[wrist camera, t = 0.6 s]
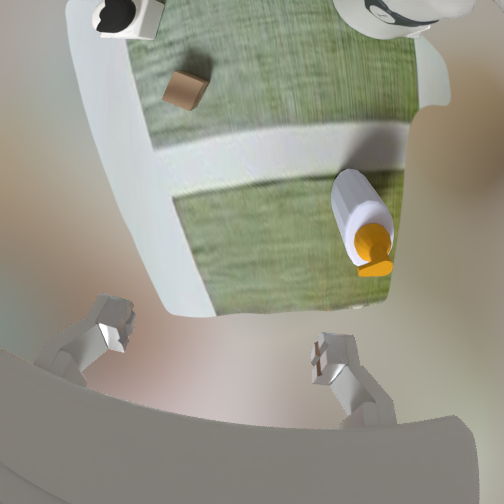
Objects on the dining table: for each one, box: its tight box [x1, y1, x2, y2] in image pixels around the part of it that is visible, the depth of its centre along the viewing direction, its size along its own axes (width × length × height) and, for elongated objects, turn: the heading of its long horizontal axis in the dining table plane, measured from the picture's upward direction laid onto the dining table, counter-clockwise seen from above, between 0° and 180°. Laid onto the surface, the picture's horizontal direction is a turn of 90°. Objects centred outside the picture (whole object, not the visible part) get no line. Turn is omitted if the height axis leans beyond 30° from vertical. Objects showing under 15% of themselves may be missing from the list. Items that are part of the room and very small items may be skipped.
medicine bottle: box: [92, 0, 164, 40], centre depth 28 cm, size 7×7×12 cm
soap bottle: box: [331, 169, 394, 277], centre depth 43 cm, size 13×8×20 cm, turn 16°
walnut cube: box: [162, 71, 210, 111], centre depth 39 cm, size 5×5×5 cm
